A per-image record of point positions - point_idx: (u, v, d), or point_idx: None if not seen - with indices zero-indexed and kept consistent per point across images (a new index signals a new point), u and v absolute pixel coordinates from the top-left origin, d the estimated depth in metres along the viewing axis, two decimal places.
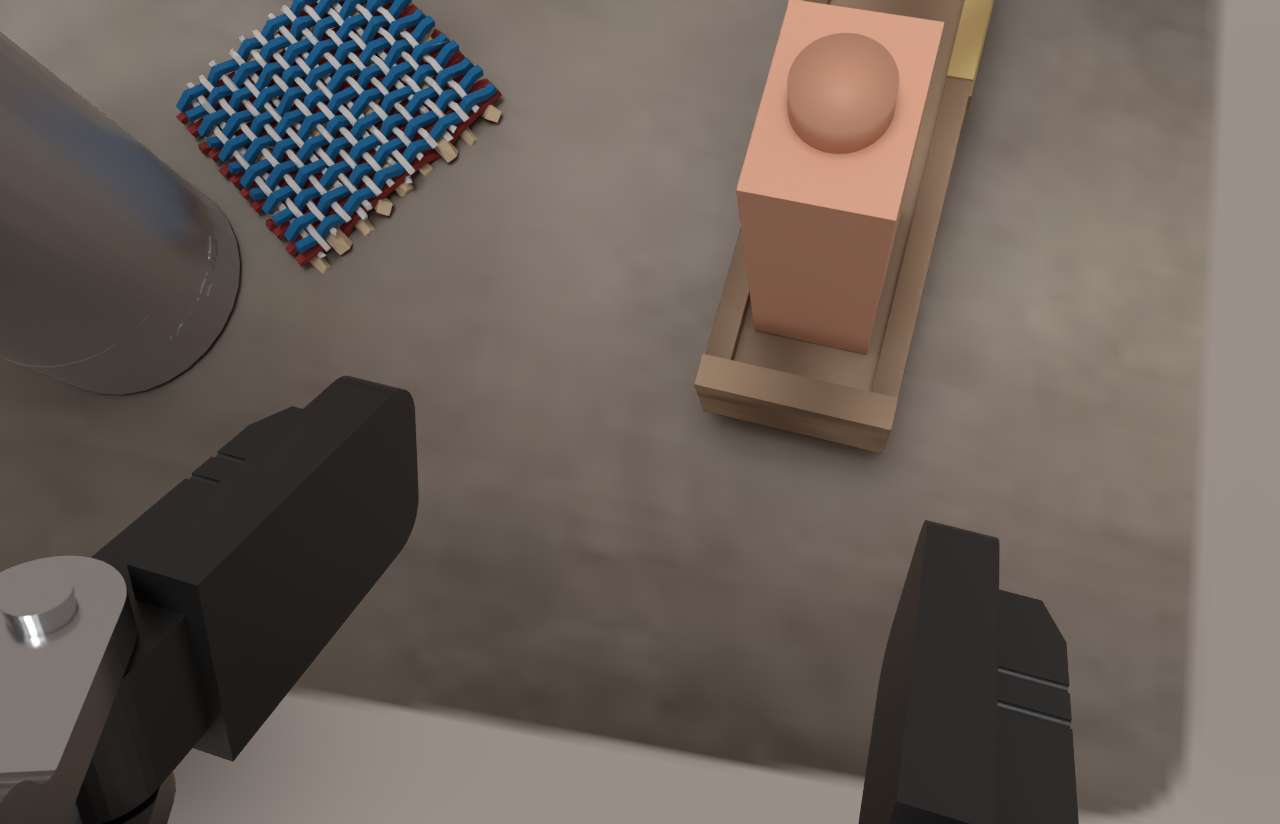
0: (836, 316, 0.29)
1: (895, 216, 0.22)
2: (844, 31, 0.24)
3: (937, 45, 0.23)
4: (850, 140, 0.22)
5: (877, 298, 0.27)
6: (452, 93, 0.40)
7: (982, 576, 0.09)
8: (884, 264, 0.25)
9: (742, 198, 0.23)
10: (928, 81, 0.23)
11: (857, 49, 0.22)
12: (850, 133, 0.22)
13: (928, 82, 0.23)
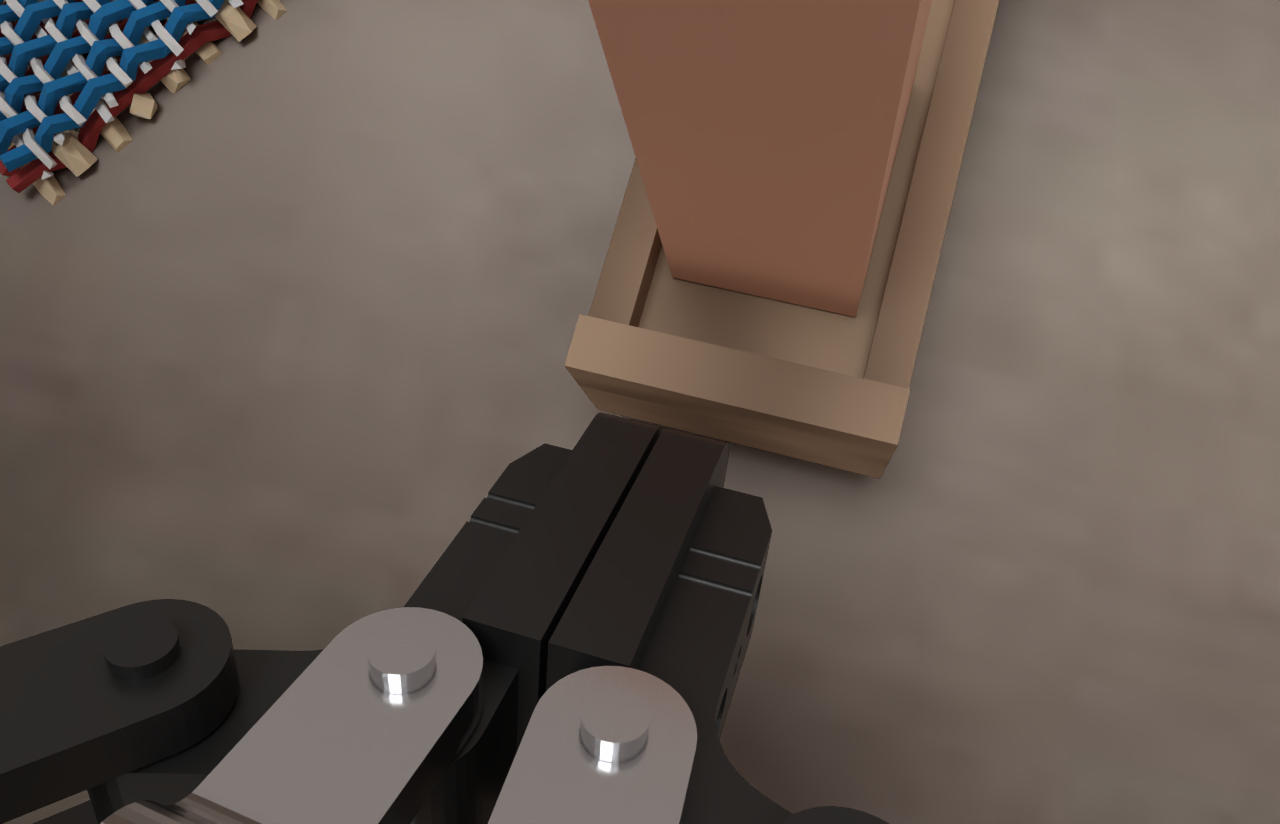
0: (803, 243, 0.17)
1: None
2: None
3: None
4: None
5: (876, 201, 0.14)
6: None
7: (697, 471, 0.10)
8: (893, 114, 0.12)
9: None
10: None
11: None
12: None
13: None
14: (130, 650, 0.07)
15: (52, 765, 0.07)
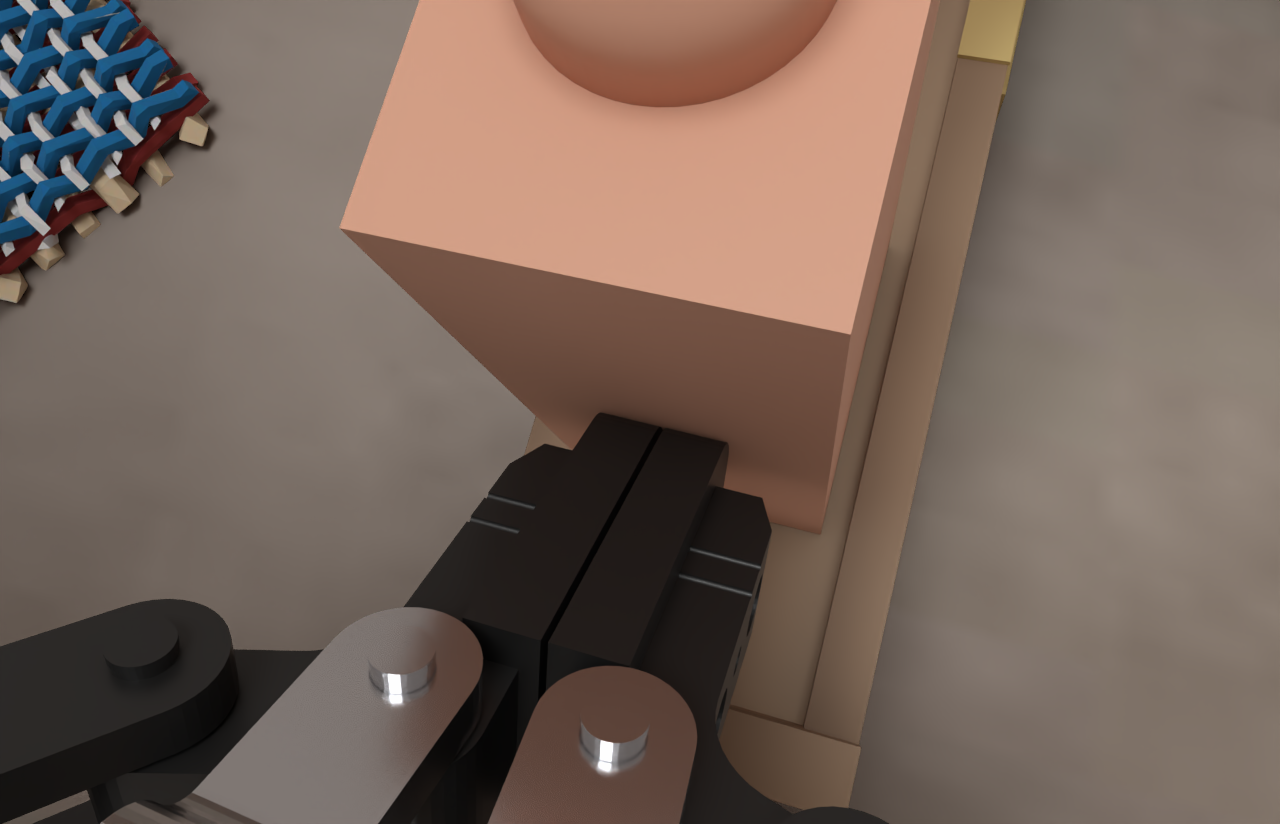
0: (745, 486, 0.13)
1: (849, 319, 0.06)
2: None
3: None
4: (690, 56, 0.06)
5: (826, 475, 0.11)
6: (117, 97, 0.24)
7: (697, 472, 0.10)
8: (831, 425, 0.09)
9: (376, 252, 0.07)
10: None
11: None
12: (684, 28, 0.06)
13: None
14: (131, 649, 0.07)
15: (53, 764, 0.07)
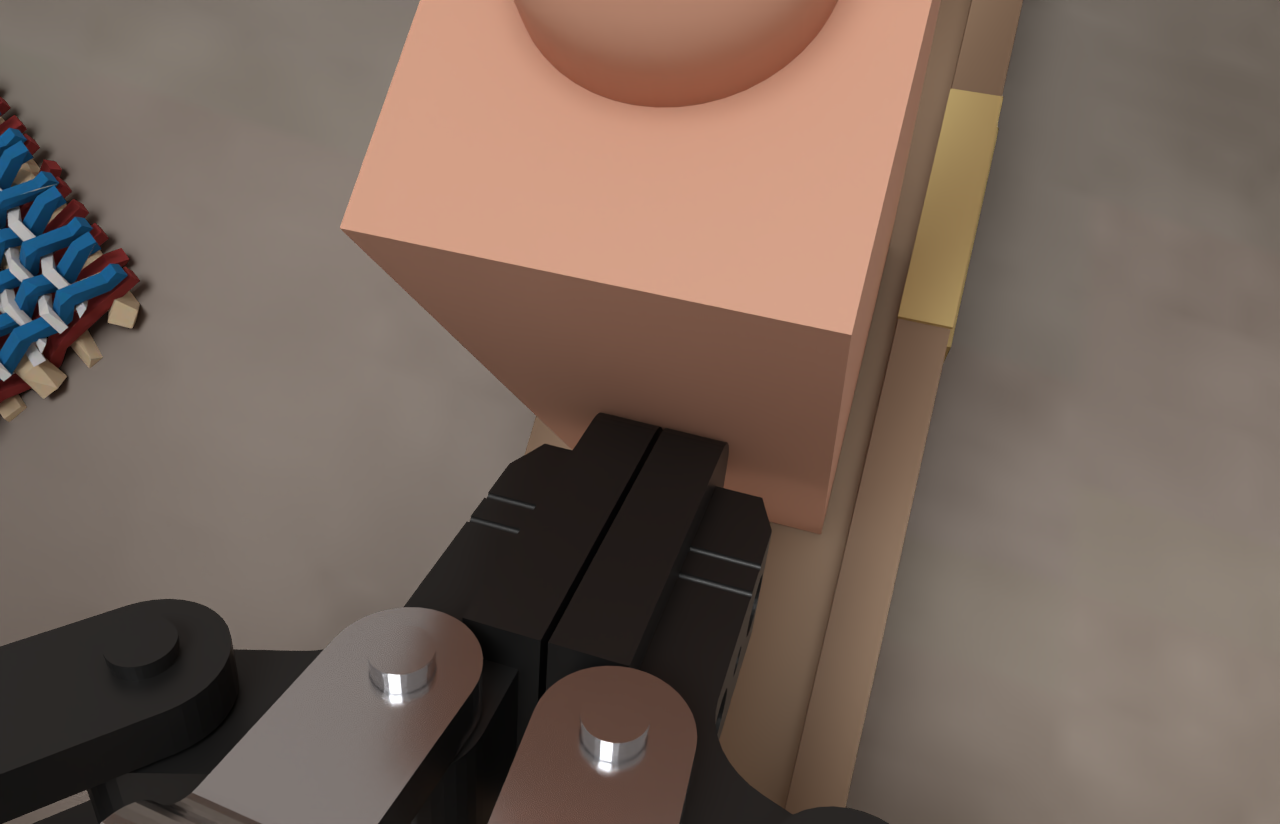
0: (745, 486, 0.13)
1: (849, 319, 0.06)
2: None
3: None
4: (691, 56, 0.06)
5: (826, 475, 0.11)
6: (42, 283, 0.23)
7: (697, 471, 0.10)
8: (832, 426, 0.09)
9: (377, 252, 0.07)
10: None
11: None
12: (685, 28, 0.06)
13: None
14: (131, 650, 0.07)
15: (52, 764, 0.07)
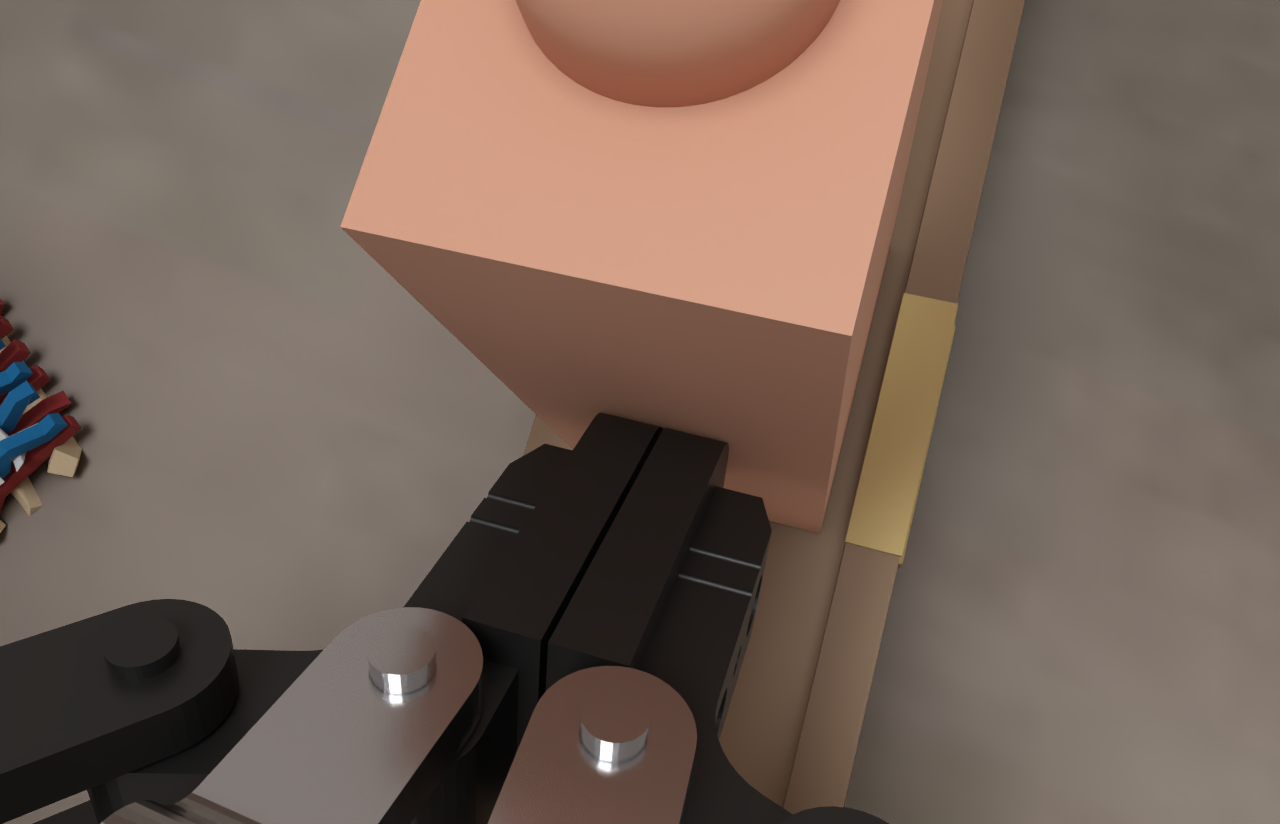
0: (745, 485, 0.13)
1: (850, 320, 0.06)
2: None
3: None
4: (692, 57, 0.06)
5: (826, 475, 0.11)
6: None
7: (697, 471, 0.10)
8: (832, 426, 0.09)
9: (377, 251, 0.07)
10: None
11: None
12: (686, 29, 0.06)
13: None
14: (131, 649, 0.07)
15: (54, 763, 0.07)
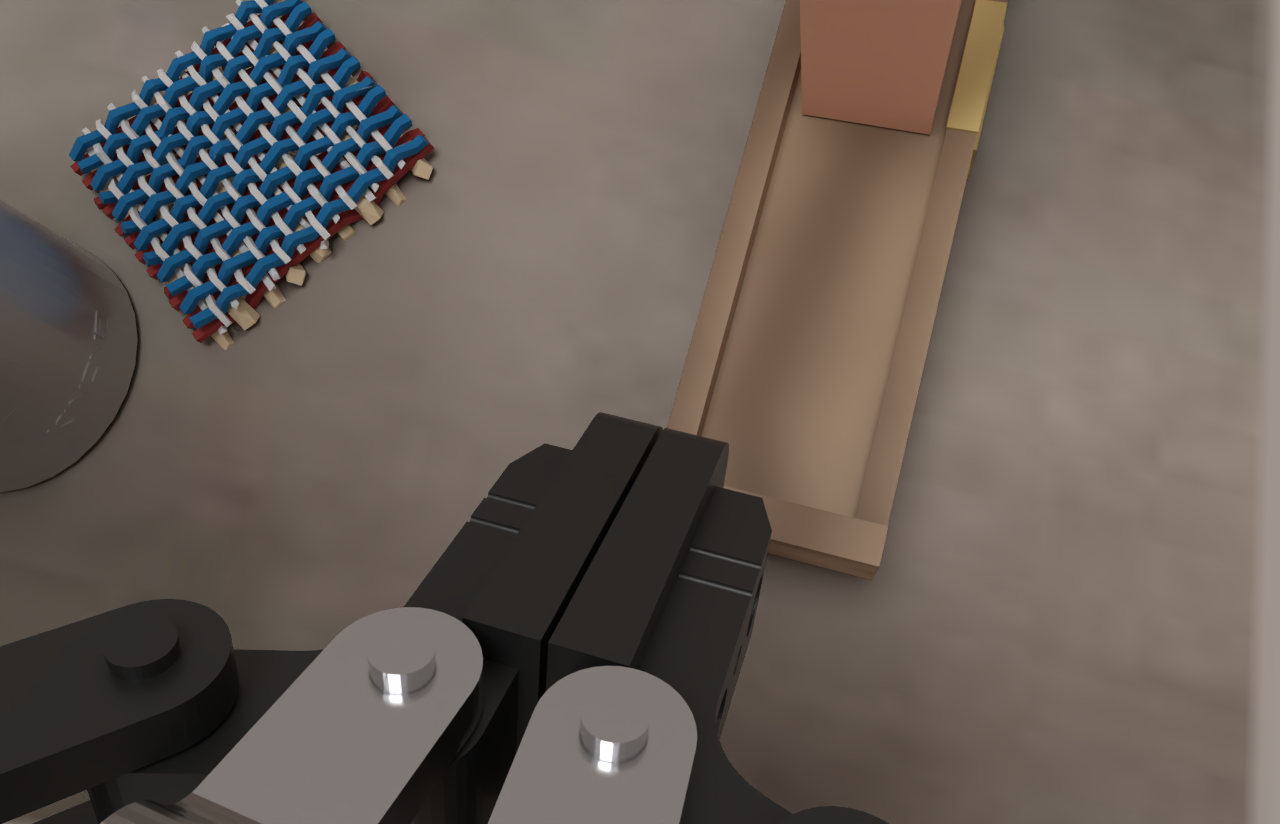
0: (900, 67, 0.26)
1: None
2: None
3: None
4: None
5: (951, 22, 0.24)
6: (375, 146, 0.34)
7: (697, 472, 0.10)
8: None
9: None
10: None
11: None
12: None
13: None
14: (131, 650, 0.07)
15: (52, 764, 0.07)
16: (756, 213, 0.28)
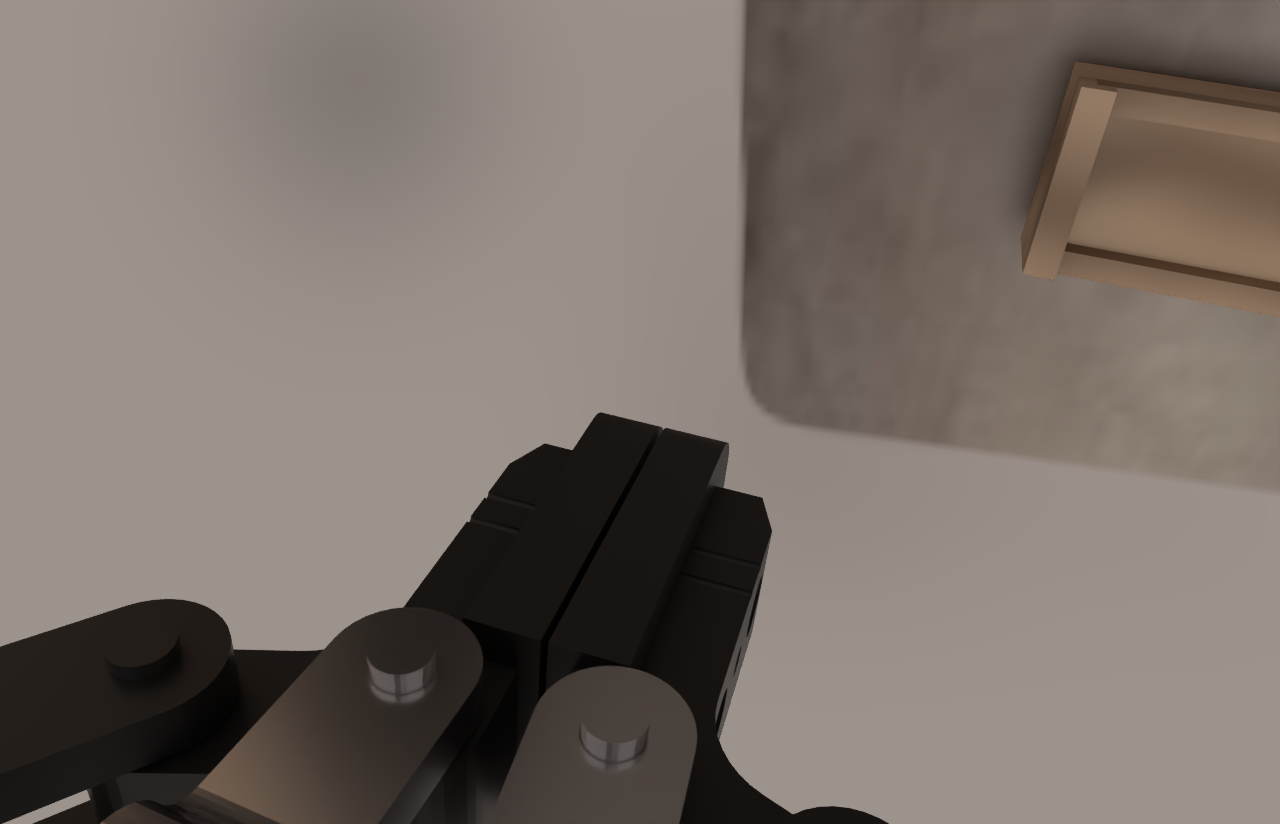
0: None
1: None
2: None
3: None
4: None
5: None
6: None
7: (697, 471, 0.10)
8: None
9: None
10: None
11: None
12: None
13: None
14: (130, 650, 0.07)
15: (52, 765, 0.07)
16: None
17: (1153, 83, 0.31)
